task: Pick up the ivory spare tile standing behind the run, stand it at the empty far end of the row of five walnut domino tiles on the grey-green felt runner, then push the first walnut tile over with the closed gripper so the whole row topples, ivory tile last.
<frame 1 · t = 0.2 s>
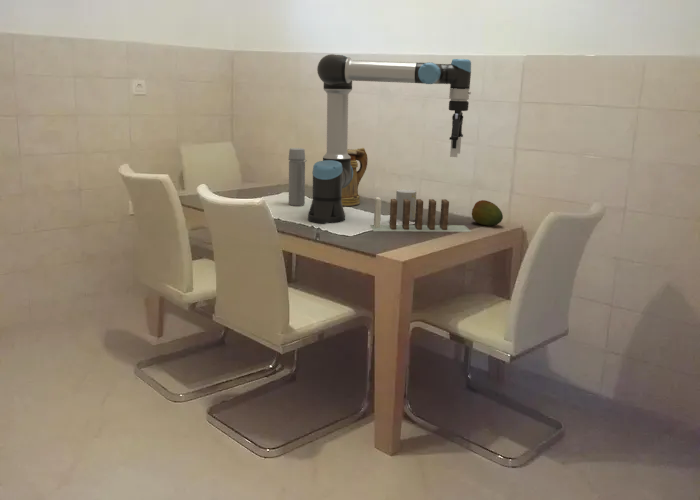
hand: (455, 155, 269), 28 cm above the table, fingers open, 13 cm apart
cup: (405, 220, 281), on the table
tile 2: (405, 228, 263), resting on felt runner
water bottle: (297, 205, 304), on the table
felt runner: (419, 229, 264), on the table
ivory tile: (376, 226, 265), resting on felt runner
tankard: (344, 203, 314), on the table
tile 5: (443, 228, 264), resting on felt runner
fruit: (486, 225, 275), on the table
tile 4: (430, 228, 264), resting on felt runner
tile 3: (418, 228, 263), resting on felt runner
tile 1: (392, 228, 262), resting on felt runner
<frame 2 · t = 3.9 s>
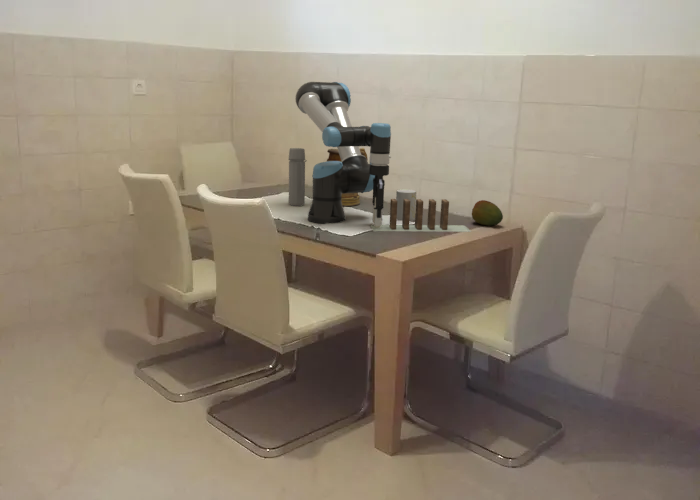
hand: (377, 224, 265), 1 cm above the table, fingers closed on ivory tile, 5 cm apart
ivory tile: (376, 226, 265), resting on felt runner, touching gripper
everything else where it was.
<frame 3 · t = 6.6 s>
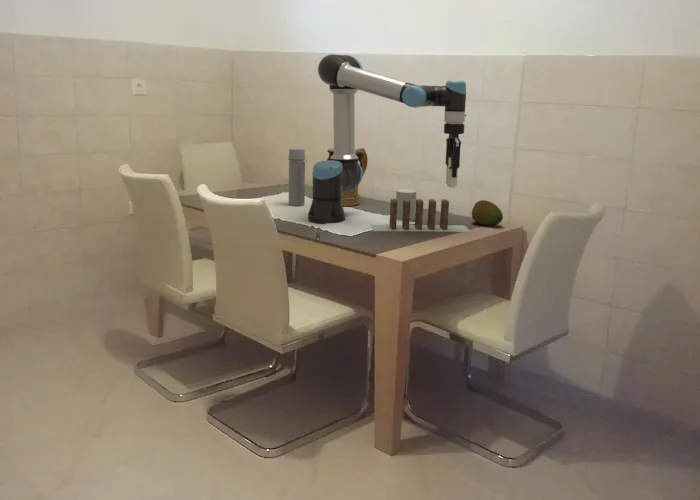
hand: (451, 184, 260), 18 cm above the table, fingers closed on ivory tile, 5 cm apart
ivory tile: (451, 186, 260), point 17 cm above the table, touching gripper
everything else where it was.
when the fingers open (2 cm above the table, at t = 9.5 s): ivory tile stays where it is, resting on felt runner.
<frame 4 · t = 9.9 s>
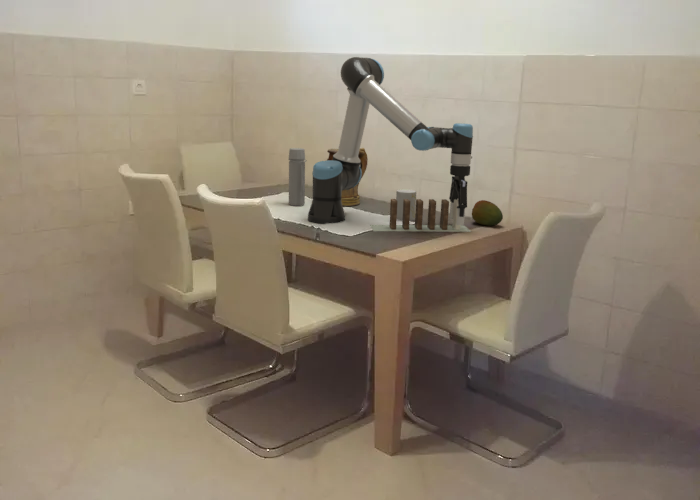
hand: (456, 221, 264), 3 cm above the table, fingers open, 10 cm apart
ivory tile: (455, 228, 265), resting on felt runner
everything else where it was.
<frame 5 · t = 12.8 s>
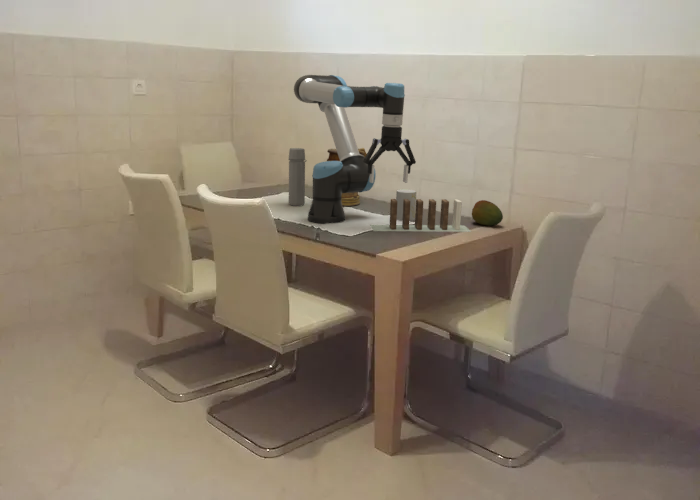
hand: (388, 182, 259), 18 cm above the table, fingers open, 13 cm apart
nothing on the table moved.
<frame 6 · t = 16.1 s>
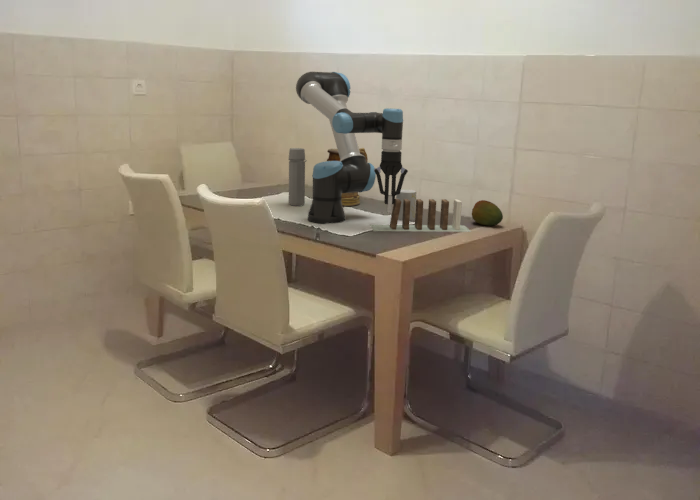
hand: (389, 212, 260), 7 cm above the table, fingers closed
tile 1: (392, 227, 262), point 1 cm above the table, tilted 8°, touching felt runner
everything else where it was.
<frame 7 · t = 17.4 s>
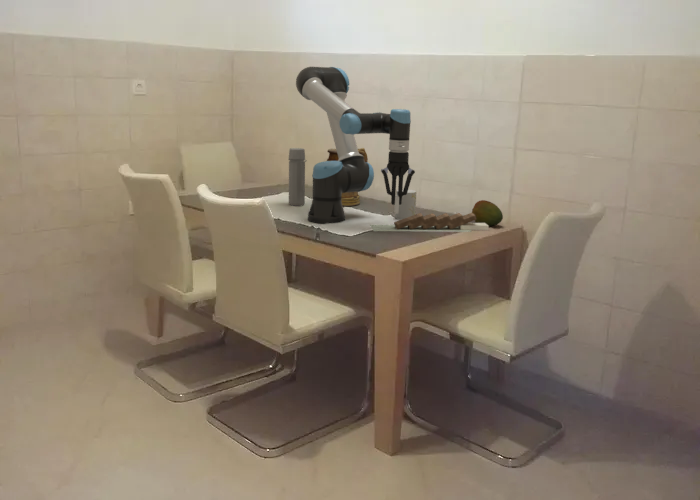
hand: (395, 212, 261), 6 cm above the table, fingers closed
tile 2: (408, 226, 263), point 1 cm above the table, tilted 69°, touching felt runner, tile 1, tile 3
ivory tile: (459, 226, 265), point 1 cm above the table, tilted 90°, touching felt runner, tile 5
tile 5: (447, 226, 264), point 1 cm above the table, tilted 68°, touching ivory tile, tile 4
tile 4: (435, 226, 264), point 1 cm above the table, tilted 68°, touching felt runner, tile 3, tile 5
tile 3: (421, 226, 263), point 1 cm above the table, tilted 69°, touching felt runner, tile 2, tile 4
tile 1: (395, 225, 262), point 1 cm above the table, tilted 69°, touching tile 2
everything else where it was.
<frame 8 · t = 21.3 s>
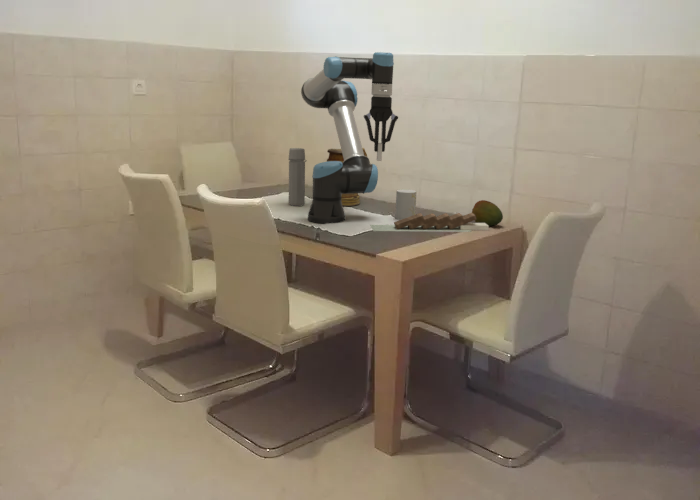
hand: (379, 160, 255), 26 cm above the table, fingers closed
nothing on the table moved.
at the end: ivory tile tilted 90°; tile 3 tilted 69°; the gripper is holding nothing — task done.
